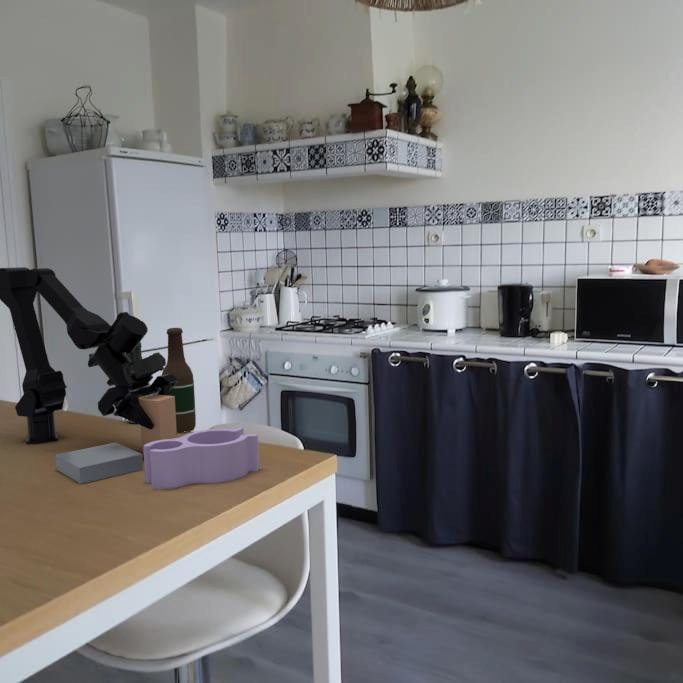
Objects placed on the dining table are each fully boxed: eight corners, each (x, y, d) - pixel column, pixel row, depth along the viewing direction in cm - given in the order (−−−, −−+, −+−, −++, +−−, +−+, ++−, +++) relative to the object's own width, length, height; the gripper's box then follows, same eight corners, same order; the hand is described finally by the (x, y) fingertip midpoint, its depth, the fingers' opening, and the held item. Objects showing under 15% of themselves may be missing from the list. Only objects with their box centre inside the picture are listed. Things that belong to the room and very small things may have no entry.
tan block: (142, 457, 140) (138, 399, 139) (158, 450, 145) (155, 394, 143) (161, 459, 138) (158, 401, 137) (177, 453, 143) (174, 396, 141)
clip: (159, 496, 118) (157, 456, 117) (138, 477, 128) (136, 441, 127) (265, 474, 128) (264, 437, 127) (238, 458, 139) (236, 424, 138)
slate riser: (56, 469, 133) (55, 454, 133) (116, 456, 141) (115, 442, 141) (80, 484, 124) (79, 467, 124) (142, 469, 132) (141, 454, 132)
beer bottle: (167, 435, 157) (161, 330, 154) (159, 428, 164) (153, 328, 161) (200, 430, 161) (195, 328, 158) (191, 423, 168) (186, 325, 165)
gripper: (104, 347, 132) (153, 408, 129) (168, 336, 149) (212, 389, 145) (77, 385, 136) (123, 445, 133) (142, 370, 153) (184, 423, 150)
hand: (163, 424), depth 140 cm, fingers open, 6 cm apart
